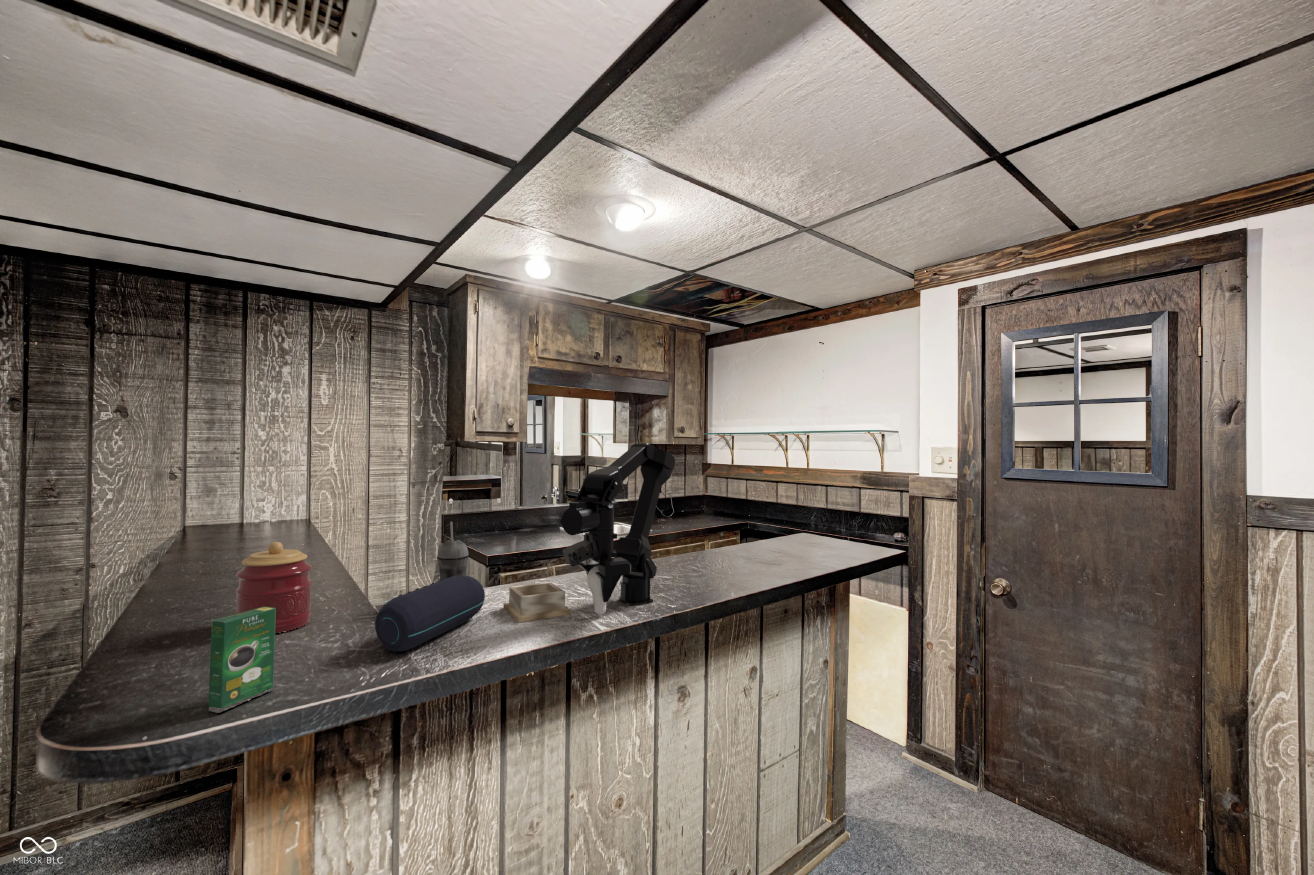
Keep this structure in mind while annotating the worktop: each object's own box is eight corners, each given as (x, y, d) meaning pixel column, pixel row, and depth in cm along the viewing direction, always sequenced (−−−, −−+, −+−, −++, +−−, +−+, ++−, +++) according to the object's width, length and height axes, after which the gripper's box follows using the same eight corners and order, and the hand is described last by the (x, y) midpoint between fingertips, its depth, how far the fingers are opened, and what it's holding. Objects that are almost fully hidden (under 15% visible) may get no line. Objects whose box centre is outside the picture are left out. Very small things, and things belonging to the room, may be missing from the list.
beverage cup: (473, 601, 133) (474, 519, 133) (460, 610, 126) (461, 523, 126) (445, 600, 134) (446, 518, 134) (430, 609, 126) (431, 522, 127)
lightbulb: (619, 613, 123) (619, 564, 123) (603, 621, 118) (603, 570, 118) (597, 608, 126) (597, 561, 126) (580, 616, 121) (581, 566, 121)
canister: (324, 622, 117) (326, 539, 117) (259, 641, 105) (260, 550, 105) (287, 613, 122) (288, 534, 122) (220, 631, 110) (222, 544, 111)
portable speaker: (451, 613, 123) (451, 569, 124) (489, 618, 121) (490, 573, 121) (363, 655, 99) (364, 600, 99) (408, 661, 97) (409, 605, 97)
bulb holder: (552, 600, 134) (552, 580, 134) (570, 614, 124) (570, 592, 124) (503, 607, 128) (503, 586, 128) (518, 622, 118) (518, 599, 118)
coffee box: (262, 688, 86) (263, 604, 86) (275, 690, 85) (277, 606, 85) (206, 712, 78) (208, 620, 78) (221, 715, 77) (223, 622, 77)
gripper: (552, 525, 126) (551, 593, 126) (584, 538, 110) (583, 615, 110) (596, 522, 132) (595, 587, 132) (632, 534, 116) (632, 607, 116)
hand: (600, 598), depth 122 cm, fingers closed on lightbulb, 5 cm apart
